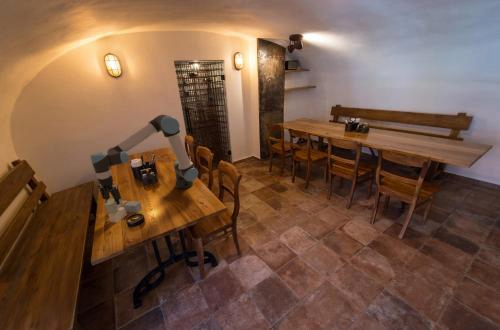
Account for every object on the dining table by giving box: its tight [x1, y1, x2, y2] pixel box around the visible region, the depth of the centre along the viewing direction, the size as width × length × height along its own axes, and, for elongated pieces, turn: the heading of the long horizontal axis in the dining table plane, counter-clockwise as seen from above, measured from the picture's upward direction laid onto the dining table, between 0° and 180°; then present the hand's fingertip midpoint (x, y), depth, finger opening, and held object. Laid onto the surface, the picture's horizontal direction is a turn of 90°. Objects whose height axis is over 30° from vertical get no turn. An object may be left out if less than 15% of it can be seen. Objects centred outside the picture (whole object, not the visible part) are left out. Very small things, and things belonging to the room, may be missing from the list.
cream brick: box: [107, 207, 128, 224], centre depth 141 cm, size 5×9×6 cm, turn 167°
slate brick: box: [125, 200, 143, 214], centre depth 149 cm, size 9×5×6 cm, turn 80°
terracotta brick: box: [122, 200, 129, 210], centre depth 151 cm, size 9×5×6 cm, turn 77°
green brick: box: [103, 197, 123, 213], centre depth 138 cm, size 5×9×6 cm, turn 167°
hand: (115, 207), depth 139 cm, fingers closed on green brick, 5 cm apart
